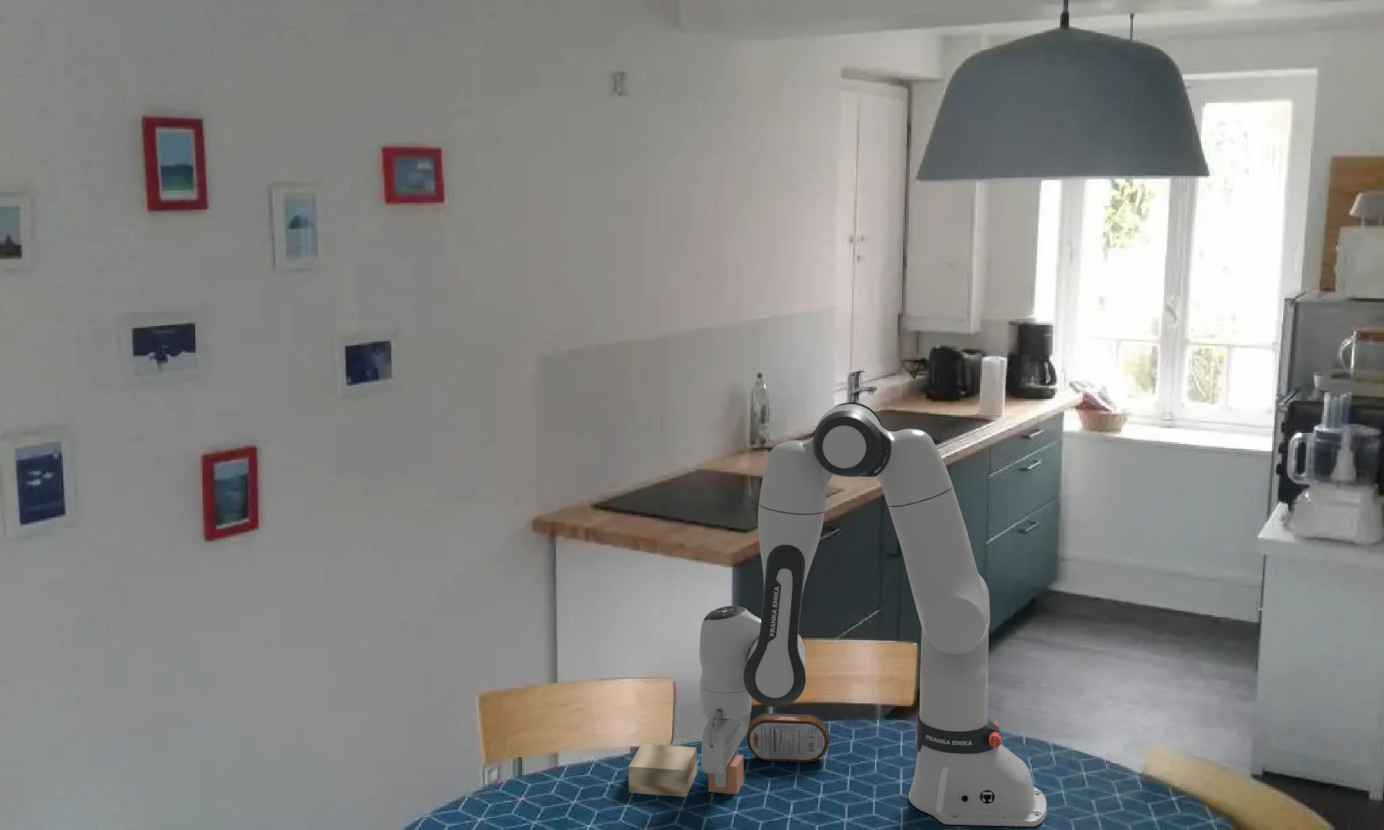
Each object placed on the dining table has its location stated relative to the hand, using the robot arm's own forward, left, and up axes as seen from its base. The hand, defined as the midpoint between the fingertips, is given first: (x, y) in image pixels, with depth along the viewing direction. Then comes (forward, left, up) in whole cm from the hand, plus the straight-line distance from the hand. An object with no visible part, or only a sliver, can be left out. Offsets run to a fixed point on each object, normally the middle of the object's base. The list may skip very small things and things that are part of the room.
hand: (726, 777), depth 219 cm
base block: (+11, +1, -2) cm, 11 cm away
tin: (-8, -14, -2) cm, 16 cm away
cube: (0, 0, -2) cm, 2 cm away
